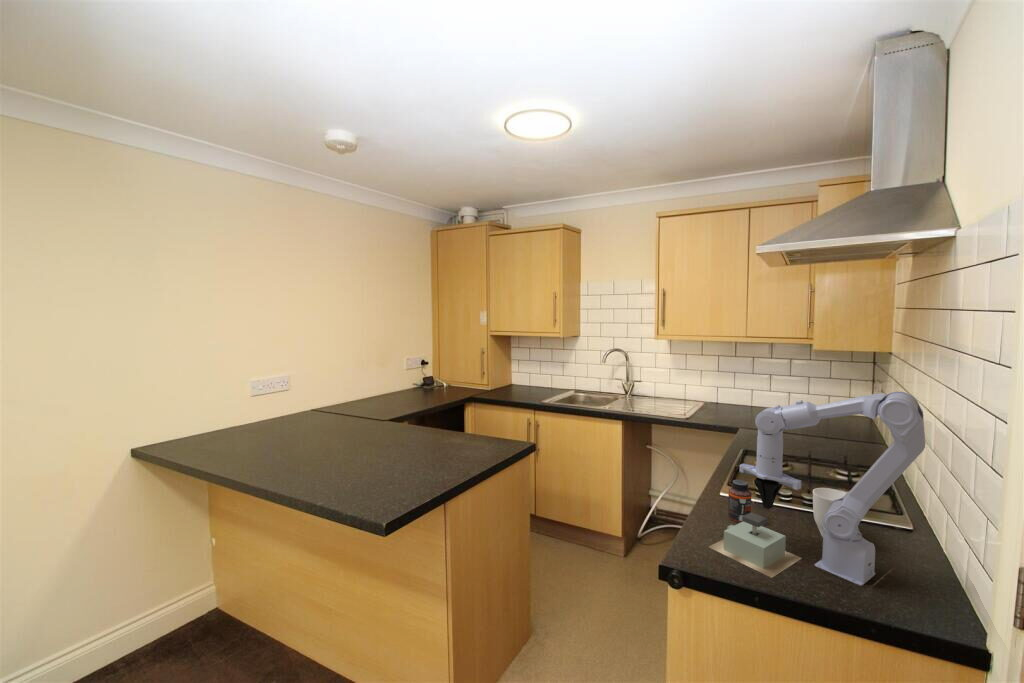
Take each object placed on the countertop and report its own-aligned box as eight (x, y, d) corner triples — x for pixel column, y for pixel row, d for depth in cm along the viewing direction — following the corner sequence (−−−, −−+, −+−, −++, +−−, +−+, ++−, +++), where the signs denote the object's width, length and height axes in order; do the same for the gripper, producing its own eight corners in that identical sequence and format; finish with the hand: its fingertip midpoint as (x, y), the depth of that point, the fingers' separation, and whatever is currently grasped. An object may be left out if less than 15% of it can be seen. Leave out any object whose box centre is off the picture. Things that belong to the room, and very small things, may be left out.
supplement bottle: (748, 527, 126) (749, 488, 125) (725, 521, 130) (726, 483, 129) (752, 518, 131) (753, 481, 130) (730, 513, 135) (731, 476, 134)
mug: (849, 550, 114) (849, 503, 113) (808, 538, 120) (808, 494, 119) (859, 533, 121) (859, 490, 121) (820, 523, 128) (820, 482, 127)
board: (802, 559, 110) (802, 558, 110) (771, 579, 102) (771, 577, 102) (738, 532, 123) (738, 531, 123) (708, 548, 116) (708, 546, 116)
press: (785, 555, 111) (785, 535, 111) (763, 568, 106) (763, 548, 106) (739, 535, 121) (740, 517, 121) (717, 546, 116) (718, 528, 115)
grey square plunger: (766, 540, 112) (767, 518, 111) (757, 545, 110) (758, 522, 109) (750, 533, 115) (751, 512, 115) (741, 538, 113) (742, 516, 113)
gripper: (733, 450, 118) (732, 500, 119) (791, 467, 106) (789, 522, 107) (748, 446, 122) (747, 494, 123) (806, 461, 110) (804, 515, 111)
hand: (767, 507), depth 115 cm, fingers closed
